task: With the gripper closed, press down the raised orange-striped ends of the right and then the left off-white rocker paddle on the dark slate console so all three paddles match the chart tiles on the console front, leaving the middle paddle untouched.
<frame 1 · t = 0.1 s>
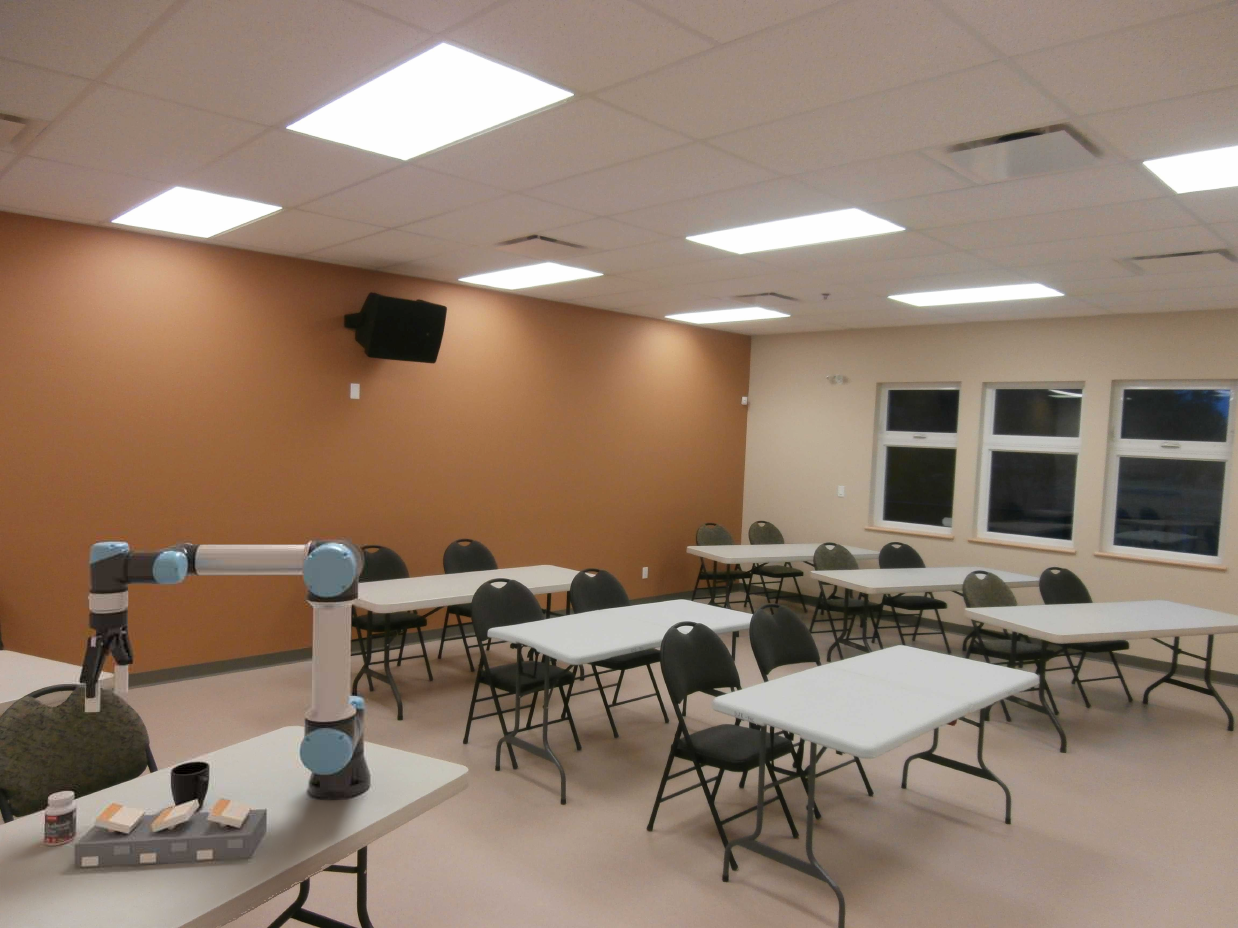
hand: (107, 701, 180), 28 cm above the table, fingers open, 13 cm apart
switch 1: (229, 813, 171), point 7 cm above the table, hinge at -18.0°
switch 3: (119, 819, 167), point 7 cm above the table, hinge at -18.0°
console: (175, 848, 169), on the table
pill bottle: (60, 840, 172), on the table
mug: (193, 810, 188), on the table
switch 2: (176, 816, 169), point 7 cm above the table, hinge at 18.0°
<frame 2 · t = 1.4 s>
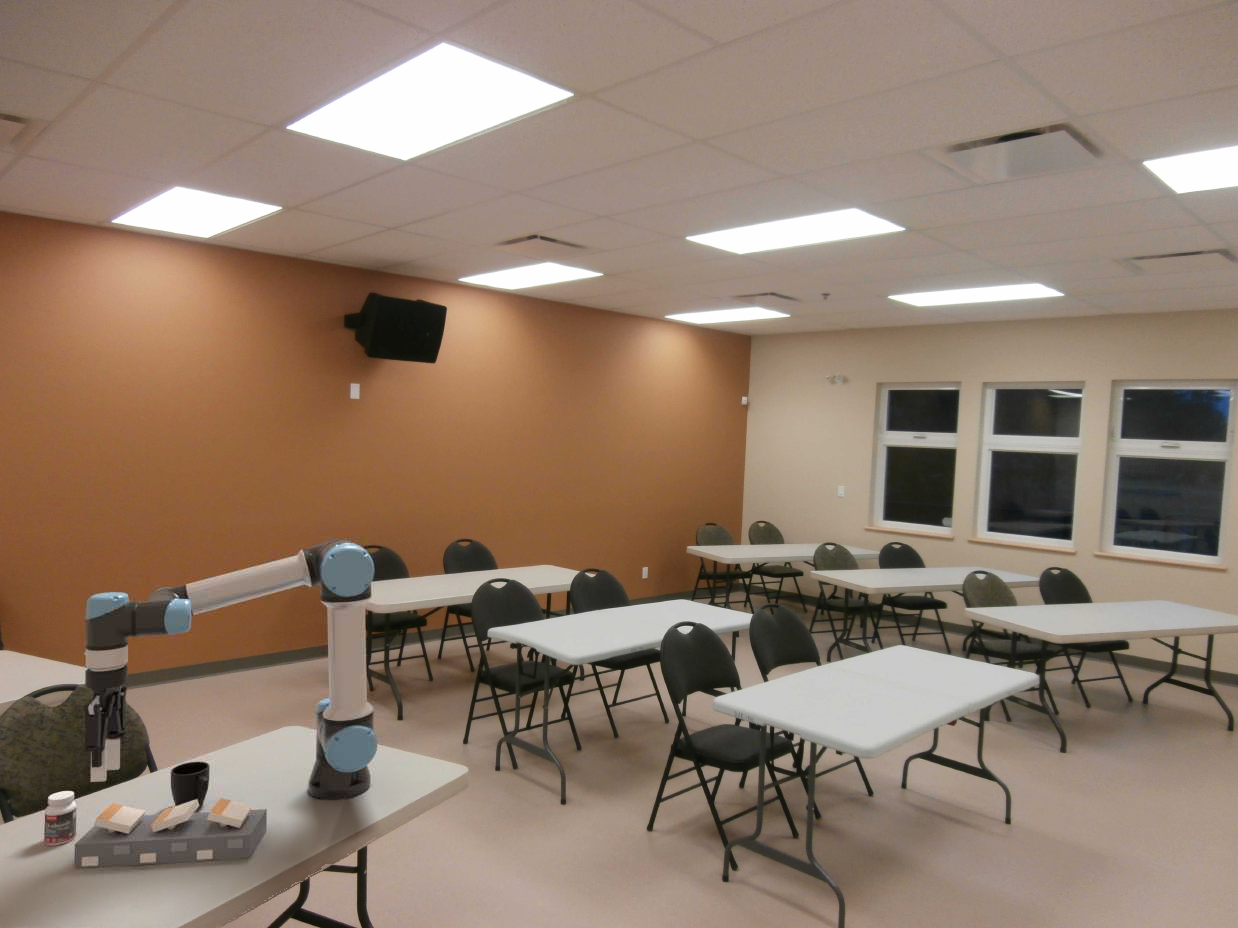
hand: (105, 774, 167), 17 cm above the table, fingers open, 5 cm apart
nothing on the table moved.
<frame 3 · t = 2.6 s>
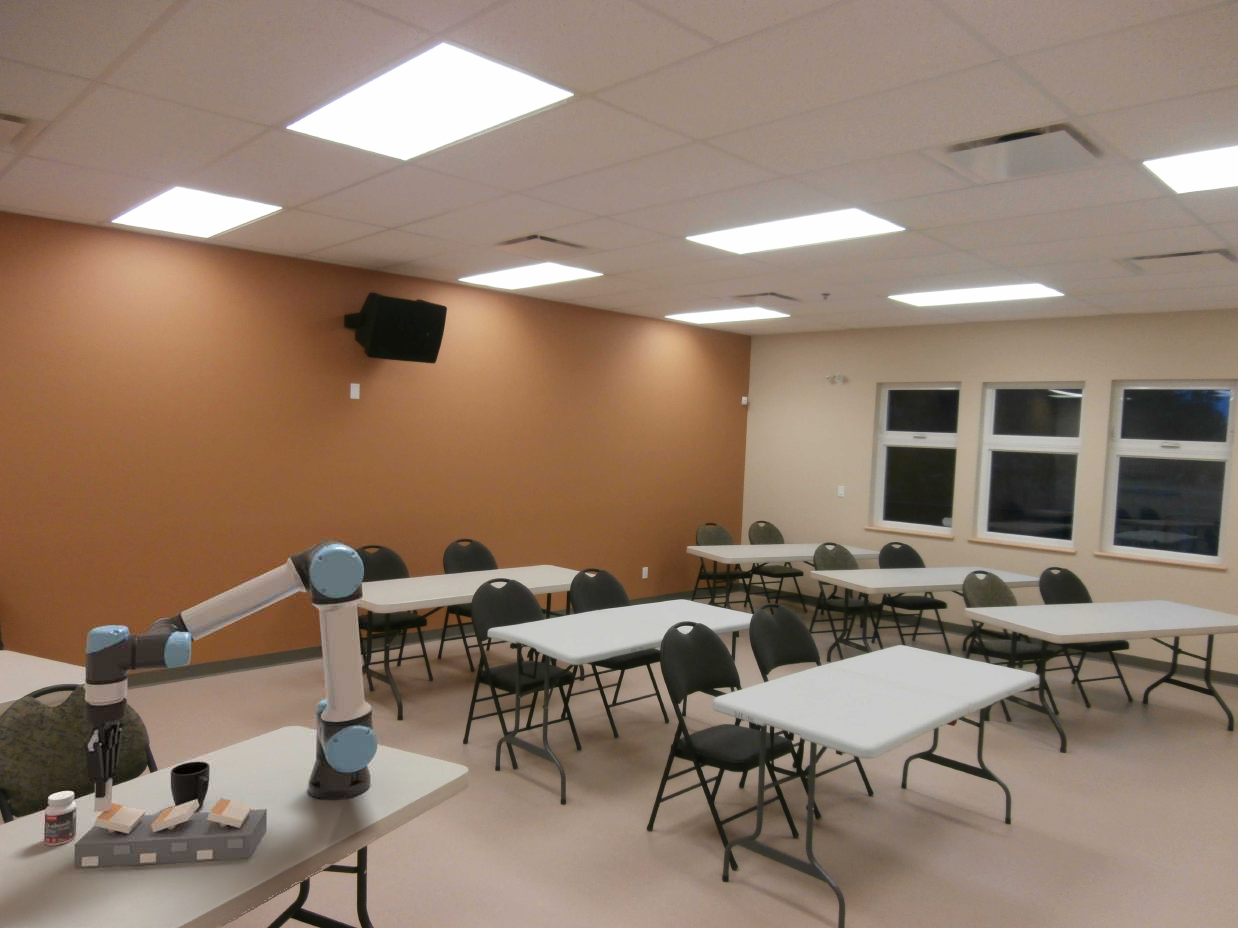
hand: (102, 809, 167), 9 cm above the table, fingers closed
switch 3: (119, 819, 167), point 7 cm above the table, hinge at -17.2°, touching gripper
everything else where it was.
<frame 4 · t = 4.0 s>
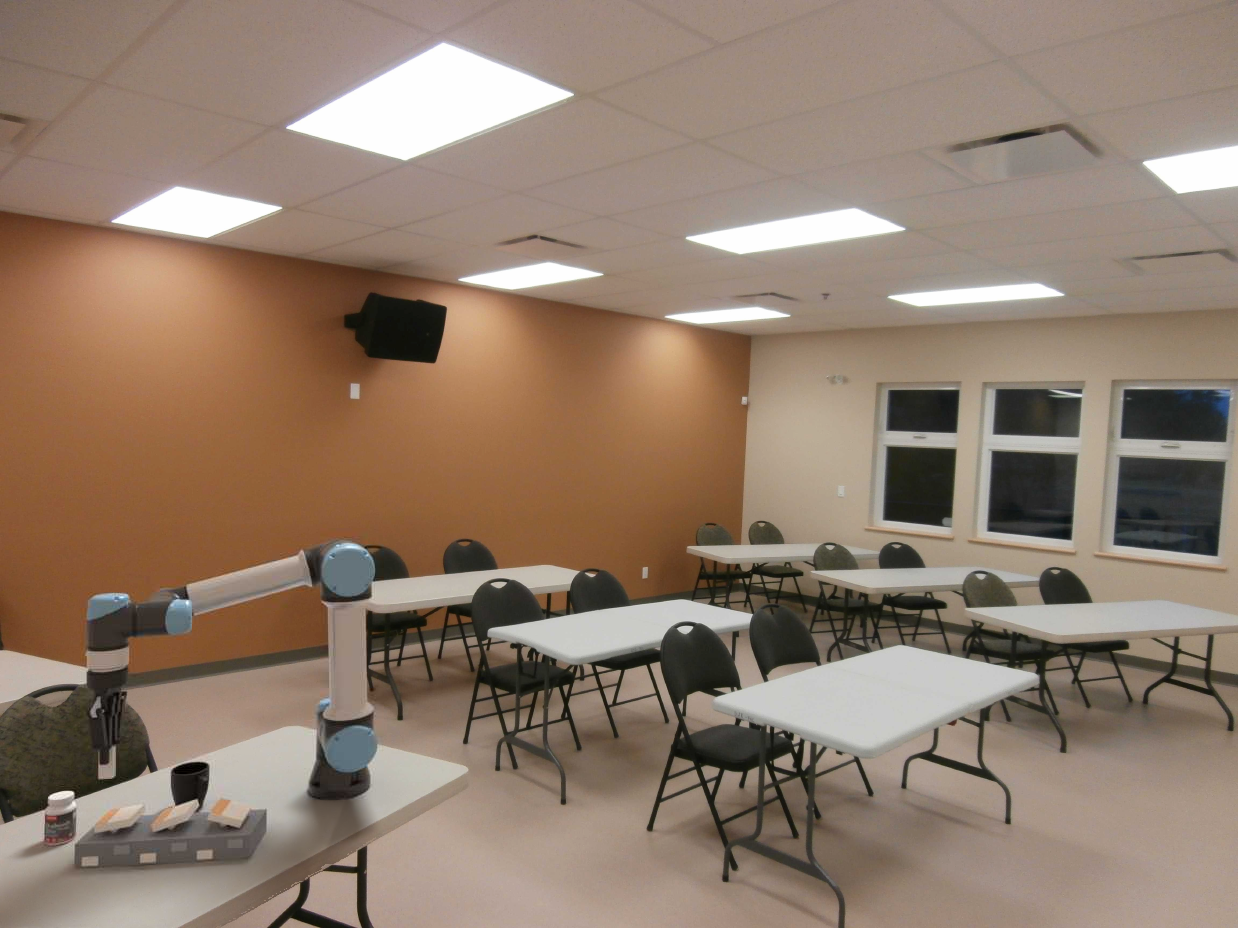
hand: (107, 777, 167), 16 cm above the table, fingers closed
switch 3: (120, 819, 167), point 7 cm above the table, hinge at 8.7°
everything else where it was.
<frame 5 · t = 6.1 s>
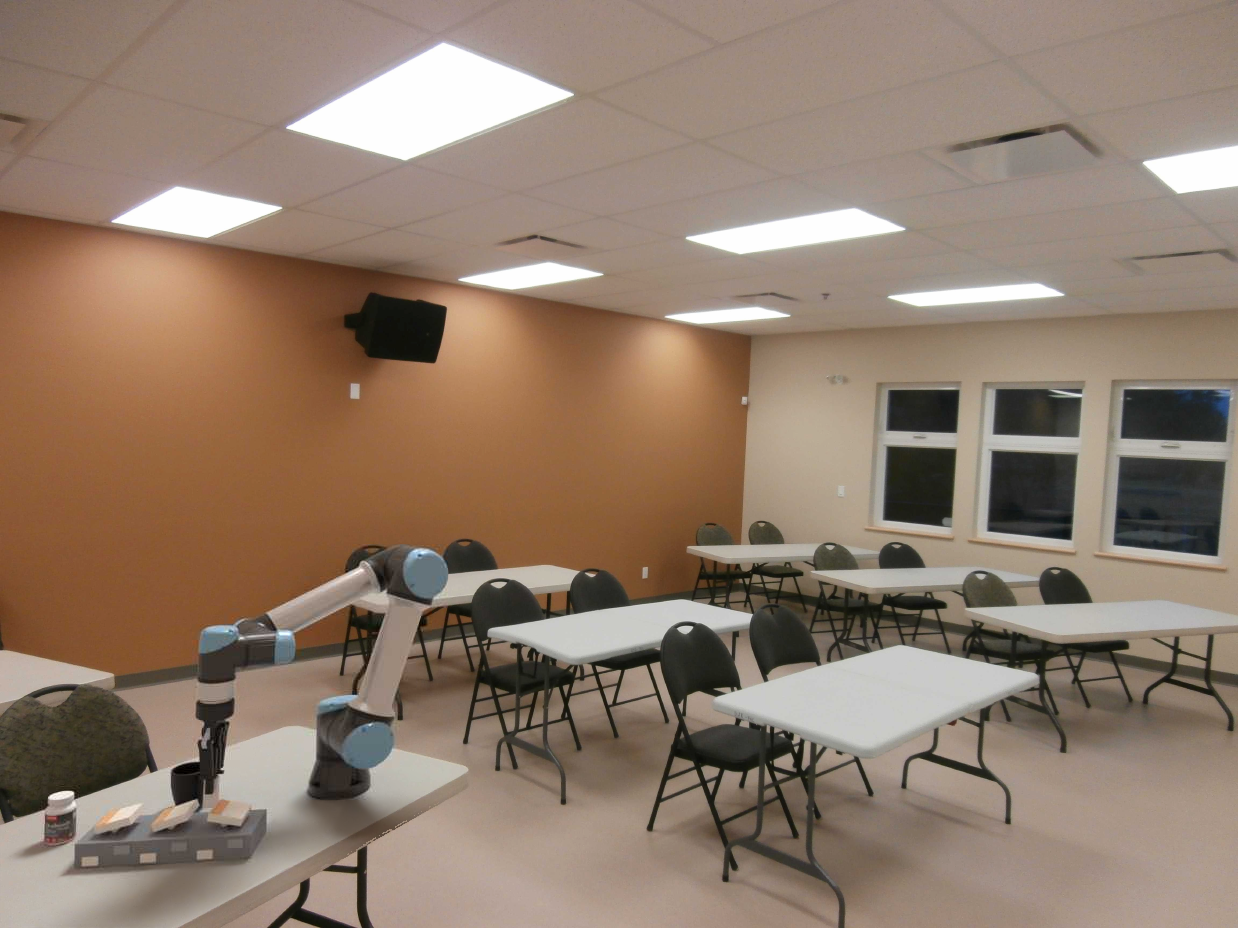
hand: (210, 806, 170), 9 cm above the table, fingers closed
switch 1: (229, 813, 171), point 7 cm above the table, hinge at -12.3°, touching gripper
switch 3: (120, 819, 167), point 7 cm above the table, hinge at 14.3°
everything else where it was.
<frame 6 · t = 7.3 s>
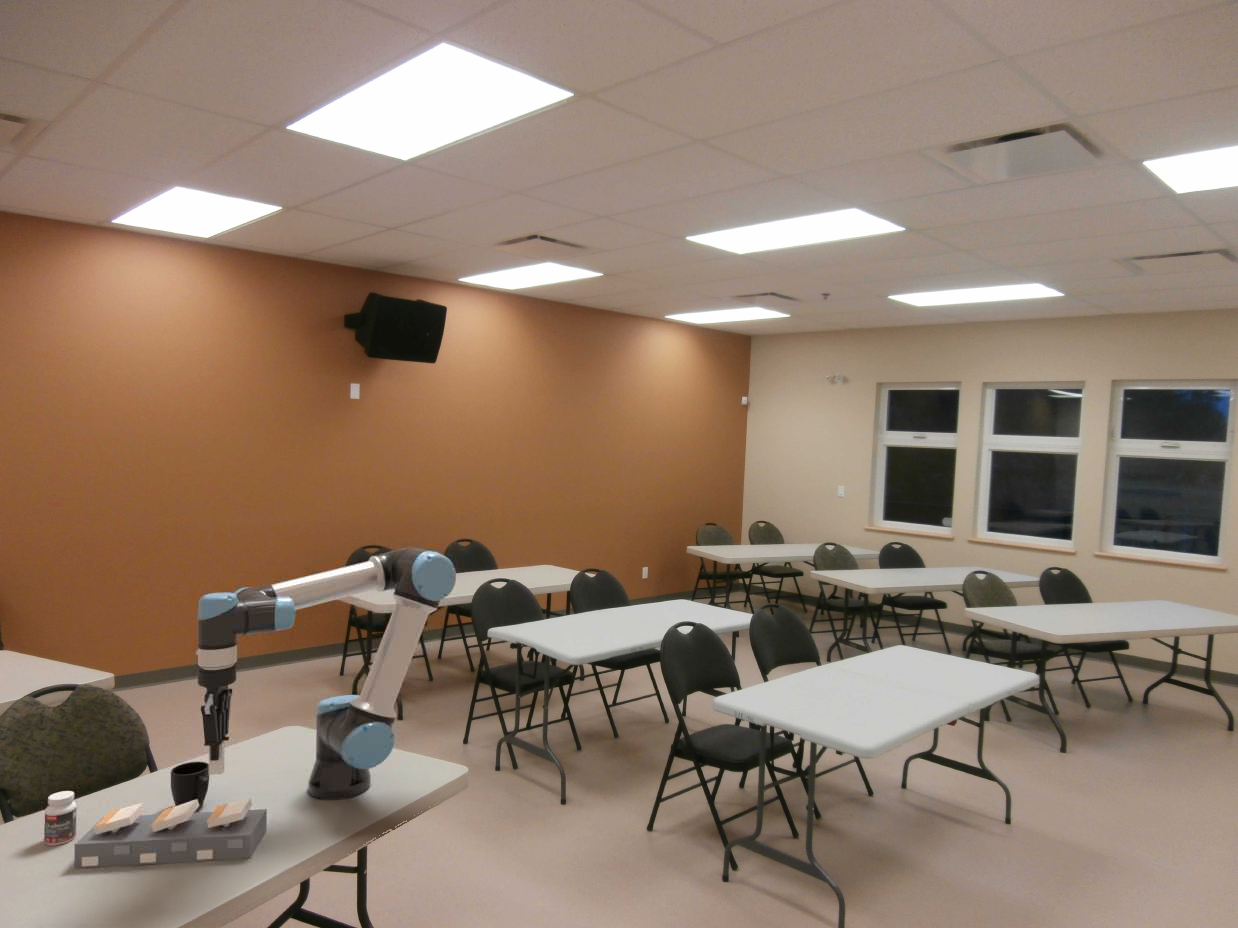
hand: (216, 772, 171), 16 cm above the table, fingers closed
switch 1: (230, 813, 171), point 7 cm above the table, hinge at 11.8°
switch 3: (120, 819, 167), point 7 cm above the table, hinge at 14.8°
everything else where it was.
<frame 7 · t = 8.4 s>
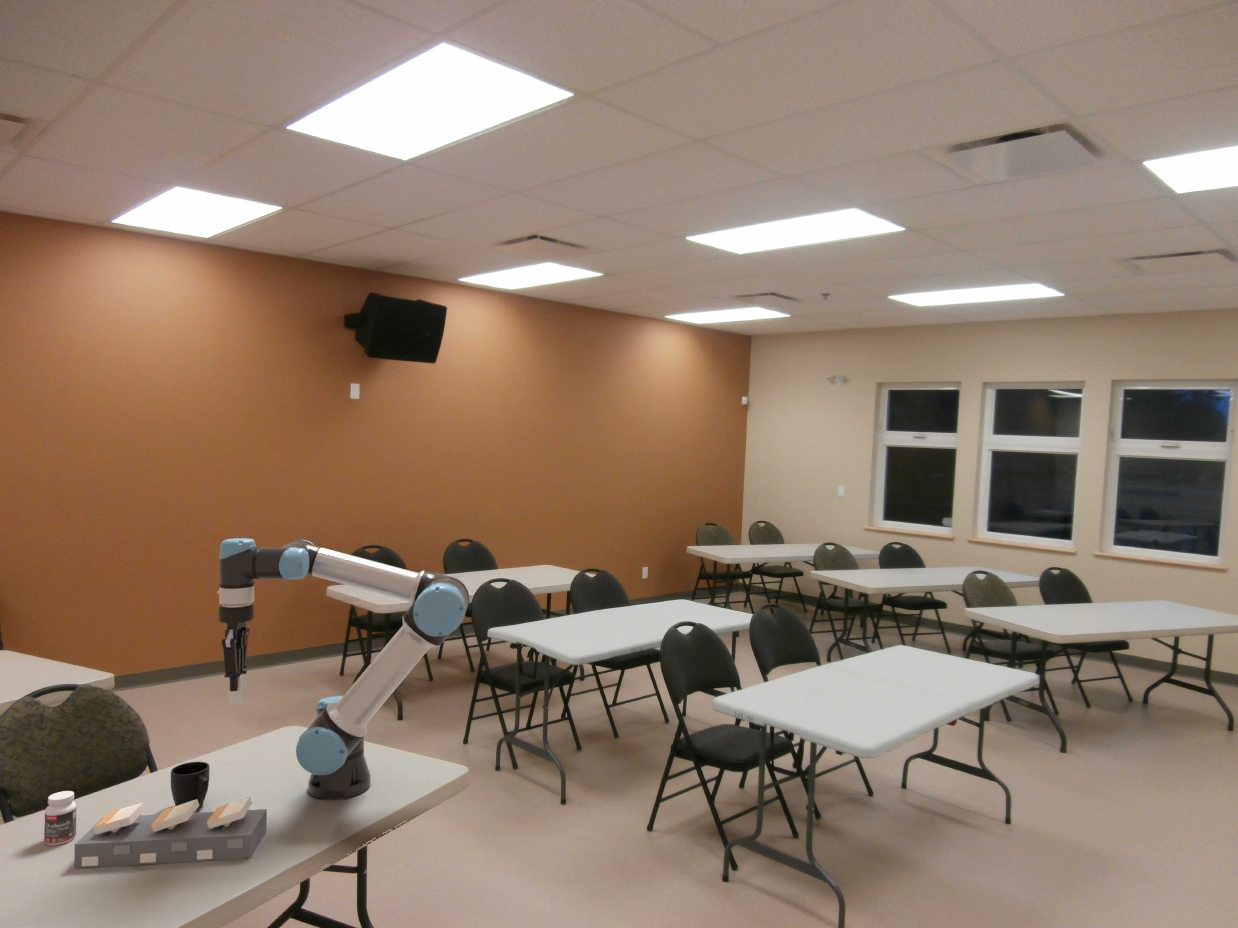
hand: (235, 702, 186), 26 cm above the table, fingers closed
switch 1: (230, 813, 171), point 7 cm above the table, hinge at 16.5°
everything else where it was.
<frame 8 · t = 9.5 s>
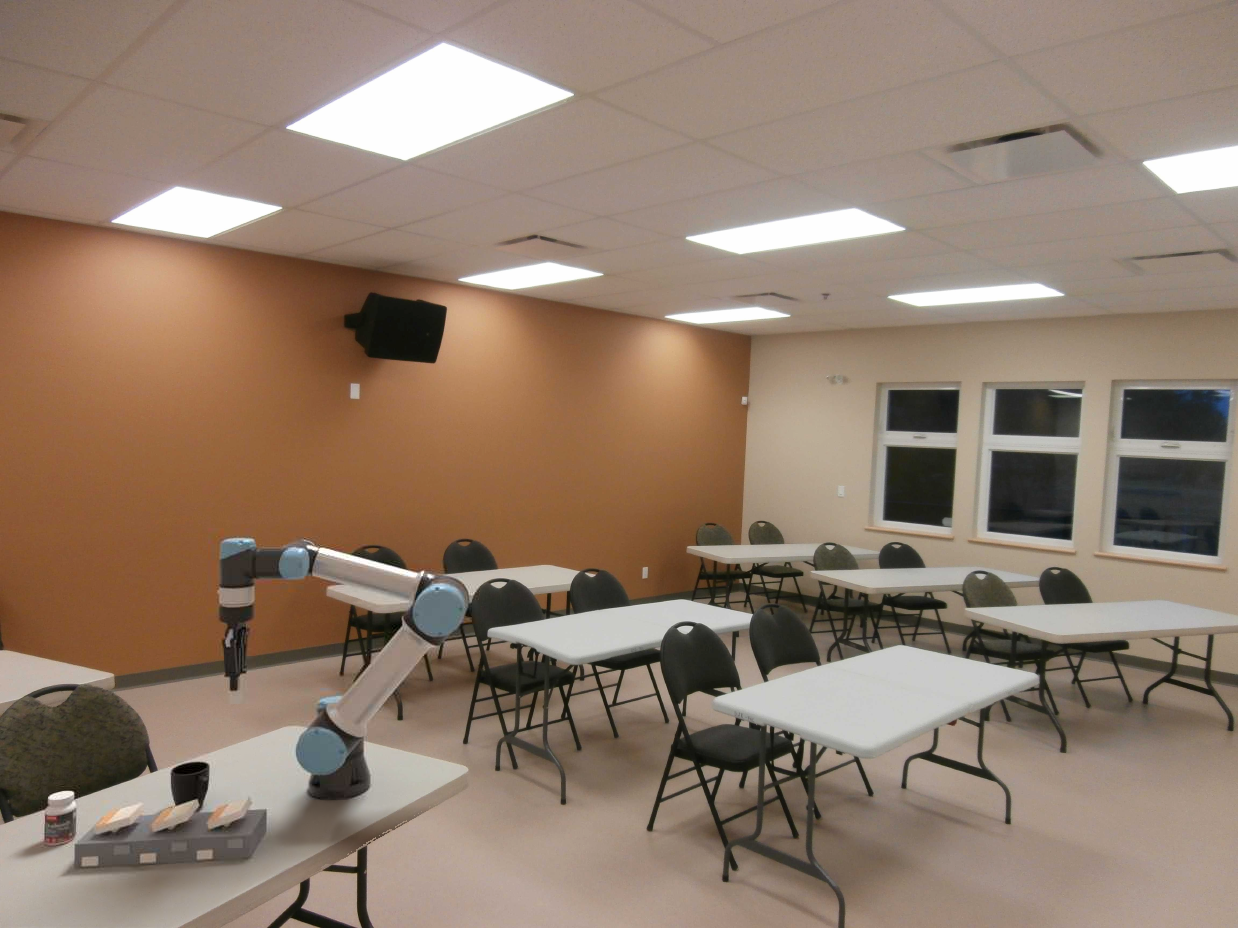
hand: (235, 702, 186), 26 cm above the table, fingers closed
switch 1: (230, 813, 171), point 7 cm above the table, hinge at 18.0°
everything else where it was.
at the end: switch 1 at +18° (first picture: -18°); switch 3 at +15° (first picture: -18°); switch 2 at +18° (first picture: +18°) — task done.
